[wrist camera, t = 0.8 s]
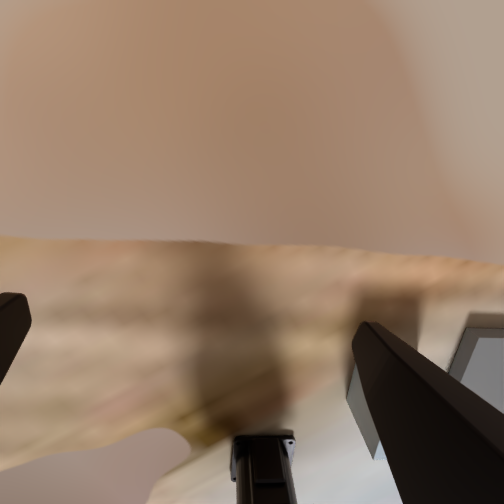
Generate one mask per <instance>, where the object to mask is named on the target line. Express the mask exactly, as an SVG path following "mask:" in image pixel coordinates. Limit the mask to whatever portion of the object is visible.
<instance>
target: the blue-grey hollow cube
mask: <svg viewBox="0 0 504 504" xmlns="http://www.w3.org/2000/svg"><path fill="white" fill-rule="evenodd" d="M347 403H348V405H349V407H350V409H351V412H352V414H353V416H354V418H355V420H356V423H357V425H358V427H359V429H360V432H361V434H362V436H363V438H364V440H365V443H366V445H367V447H368V449H369V452H370V454H371V456H372V458H373V460H387V458H386V456H385V453H384V450H383V447H382V445H381V442H380V439H379V436H378V434H377V431H376V428H375V425H374V422H373V420H372V417H371V414H370V411H369V409H368V406H367V403H366V400H365V397H364V393H363V390H362V386H361V382H360V378H359V374H358V370H357V366H356V363H355V367H354V371H353V375H352V379H351V383H350V387H349V391H348V395H347Z"/></svg>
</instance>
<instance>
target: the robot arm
mask: <svg viewBox="0 0 504 504" xmlns="http://www.w3.org/2000/svg"><path fill="white" fill-rule="evenodd" d="M31 322H32V319H31V314H30V310H29V305H28V301H27V298H26V296H25V295H24V294H22V293H12V292H4V293H1V294H0V385H1V383H2V381H3V379H4V377H5V376H6V374H7V372H8V370H9V368H10V366H11V364H12V362H13V360H14V358H15V356H16V354H17V352H18V350H19V349H20V347H21V345H22V343H23V341H24V339H25V337H26V335H27V333H28V331H29V329H30V327H31ZM352 350H353V354H354V358H355V362H356V366H357V370H358V374H359V378H360V382H361V386H362V390H363V393H364V397H365V400H366V403H367V406H368V409H369V411H370V414H371V417H372V420H373V422H374V425H375V428H376V431H377V434H378V436H379V439H380V442H381V445H382V447H383V450H384V453H385V456H386V458H387V461H388V464H389V467H390V469H391V472H392V475H393V478H394V480H395V483H396V486H397V489H398V491H399V494H400V497H401V500H402V503H403V504H504V414H503V413H502V412H501V411H499V410H498V409H496V408H495V407H494V406H492V405H491V404H489V403H488V402H487V401H485V400H484V399H483V398H481V397H480V396H478V395H477V394H476V393H474V392H473V391H472V390H470V389H469V388H467V387H466V386H465V385H463V384H462V383H460V382H459V381H458V380H456V379H455V378H454V377H452V376H451V375H449V374H448V373H447V372H445V371H444V370H442V369H441V368H440V367H438V366H437V365H436V364H434V363H433V362H431V361H430V360H429V359H427V358H426V357H425V356H423V355H422V354H420V353H419V352H418V351H416V350H415V349H413V348H412V347H411V346H409V345H408V344H407V343H405V342H404V341H402V340H401V339H400V338H398V337H397V336H396V335H394V334H393V333H391V332H390V331H389V330H387V329H386V328H385V327H383V326H382V325H380V324H379V323H377V322H374V321H363V322H361V323H360V325H359V327H358V329H357V332H356V334H355V336H354V338H353V340H352ZM294 448H295V438H294V437H293V436H244V437H235V438H234V440H233V454H232V467H231V481H233V482H236V492H237V504H297V499H296V494H295V488H294V483H293V478H292V472H291V465H292V459H293V454H294Z"/></svg>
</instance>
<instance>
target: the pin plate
mask: <svg viewBox="0 0 504 504" xmlns="http://www.w3.org/2000/svg"><path fill="white" fill-rule="evenodd" d="M448 374H449V375H451V376H452V377H454V378H455V379H456V380H458V381H459V382H460V383H462V384H463V385H465V386H466V387H467V388H469V389H470V390H472V391H473V392H474V393H476V394H477V395H478V396H480V397H481V398H483V399H484V400H485V401H487V402H488V403H489V404H491V405H492V406H494V407H495V408H496V409H498V410H499V411H501V412H502V413H503V414H504V329H498V328H466V330H465V333H464V335H463V338H462V340H461V343H460V345H459V348H458V351H457V353H456V356H455V358H454V361H453V363H452V366H451V368H450V371H449V373H448Z"/></svg>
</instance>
